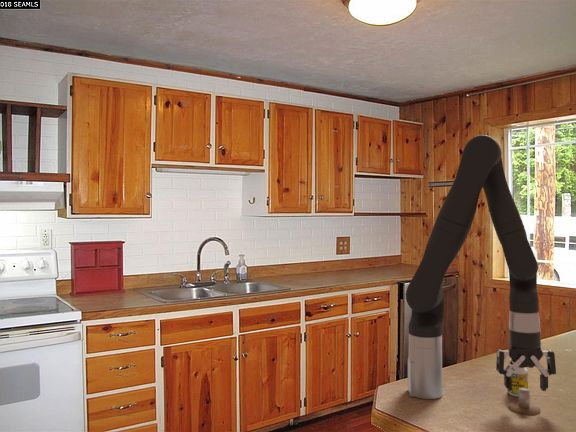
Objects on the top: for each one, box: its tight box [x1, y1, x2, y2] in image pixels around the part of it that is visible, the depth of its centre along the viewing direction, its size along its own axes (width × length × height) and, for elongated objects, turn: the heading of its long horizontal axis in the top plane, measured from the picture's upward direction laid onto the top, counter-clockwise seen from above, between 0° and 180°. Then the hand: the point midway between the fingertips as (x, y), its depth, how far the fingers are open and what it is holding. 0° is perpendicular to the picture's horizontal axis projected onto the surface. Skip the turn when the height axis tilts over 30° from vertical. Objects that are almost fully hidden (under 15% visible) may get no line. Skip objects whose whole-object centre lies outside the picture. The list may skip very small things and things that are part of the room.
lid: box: [508, 388, 541, 416], centre depth 134 cm, size 8×8×5 cm
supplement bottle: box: [507, 358, 529, 398], centre depth 144 cm, size 5×5×10 cm
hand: (526, 389), depth 133 cm, fingers open, 8 cm apart
